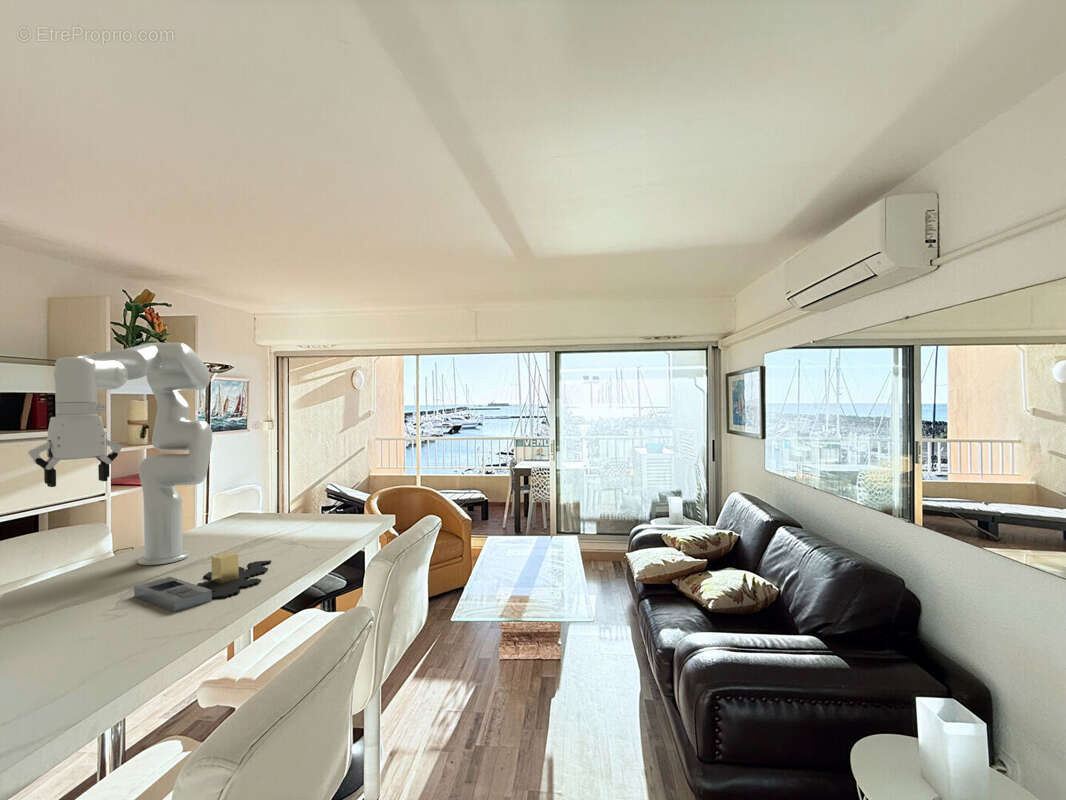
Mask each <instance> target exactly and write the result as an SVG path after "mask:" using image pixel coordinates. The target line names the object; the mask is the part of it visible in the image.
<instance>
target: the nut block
mask: <svg viewBox="0 0 1066 800" xmlns="http://www.w3.org/2000/svg"><path fill="white" fill-rule="evenodd" d="M239 567H240V565H239V554H238V553H235V552H230V551H228V552H224V553H221V554H215V555H211V572H212V581H214V582H218V583H225V582H228V581H232V580H236V579H239Z"/></svg>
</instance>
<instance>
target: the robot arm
mask: <svg viewBox="0 0 1066 800" xmlns="http://www.w3.org/2000/svg"><path fill="white" fill-rule="evenodd" d="M53 376H54V383H55V384H54V385H55V386H54V389H55V391H54V395H55V398H54V399H55V416H51V417H50V419H49V424H48V430H47V437H46V439H47V440H46V442H45V443H43V444H41V445H38V446H36V447H34V448H32V449H29V450H28V451H27V454H28V455H29V457H30V458H31V459H32V460H33V463H34V464H36V465H37V466H39V467H41V469H43V471H44V472H43V475H44V476H43V477H44V484H45V485H46V486H47V487H50V488H55V487H57V470H56V469H55V466H56V465H57V464H58V463H59V462H60V461H67V460H79V459H93V458H95V459H96V460H97V461H99V464H98V481H99V482H107V481H108V478H109V477H110V464H112V463H113V461H114V460H115V459H116V458H117V457H118V456H119V453H120V452H121V449H122V448H123V445H122V444H119V443H117V442H114V441H112V440H110V439H109V440H108V439H107V438H106V434H105V433H106V432H105V427H104V422H103V419H102V416H101V415H98V414H99V412H102V411H103V412H104V411H105V409H106V408H105V405H103V404H102V405H101V404H99V402H98V391H104V390H105V391H106V390H109V391H111V390H116V389H119V388H121V387H123V386H124V385H125V384H126V383H127V381H131V380H137V379H141V378H143V377H146V381H147V384H148V385H149V387H150V390H151V391H152V394H153V396H154V398H155V400H156V402H157V411H156V416H155V420H154V421H155V422H154V427H153V432H152V437H151V443H152V447H153V448H154V449H155V450H158V451H160V452H188V453H167V454H166V453H163V454H160V453H159V454H153V455H149V456H146V457H145V458H144V459H143V460H142V461H141V462H140V464H139V467H138V476H139V480H140V483H141V489H142V495H143V496H142V497H143V498H142V499H143V536H144V537H143V543H144V545H143V548H144V549H143V550H144V553H143V554H144V555H143V556H140V557H139V558H138V560H137V563H138V564H139V565H140V566H141V565H142V566H157V565H164V564H171V563H175V562H179V561H182V560H184V559H186V558H188V557H189V556H190V555H189V554H190V552H189V551H188V550H184V549H183V548H184V547H183V502H182V501H183V500H182V497H181V494H180V493H179V491H178V490H177V488H175V487H177V486H178V487H179V486H181V487H182V486H195V485H200V484H201V483H203V482H204V480H205V479H206V477H207V474H208V471H209V470H208V469H209V463H210V457H211V451H212V445H213V431H212V428H211V426H210V424H209V423H208V422H206V421H205V420H199V419H192V420H191V419H190V413H191V407H190V404H189V403H188V401H187V400H186V398H185V397H184V396H183V395H182V394H181V393H180V392H179V391H186V392H188V391H201V390H205V389H206V388H207V387H208V386H209V385H210V382H211V373H210V371H209V368H208V367H207V366H206V364H205V363H204V361H203V360H202V359H201V358H200V356H198V354H197V352H195V350H193V349H192V348H191V347H190V346H189V345H187V344H185V343H183V342H148V343H147V342H146V343H142V344H139V345H136V346H132V347H127V348H123V349H116V350H115V349H114V350H109V351H105V352H98V353H90V354H84V355H83V354H82V355H79V356H74V357H73V356H72V357H71V356H69V357H66V356H65V357H60V358H58V359H56V361H55V362H54V372H53ZM107 447H109V448H111V451H110V453H109V454H107V455H106V453H107ZM45 451H46V457H47V460H44V458H42V457H41V455H40V454H42V452H45Z"/></svg>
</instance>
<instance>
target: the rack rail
mask: <svg viewBox="0 0 1066 800" xmlns="http://www.w3.org/2000/svg"><path fill="white" fill-rule="evenodd" d="M133 597H135V598H138V599H139V600H143V601H145V602H148V603H151V604H153V605H155V606H158V607H161V608H163V609H165V610H168V611H169V612H173V613H176V612H180V611H184V610H186V609H189V608H193V607H196V606H199V605H203V604H206V603H209V602H212V601H213V600H212V590H210V589H207V588H204V587H201V586H198V585H197V584H193V583H191V582H188V581H185V580H181V579H178V578H176V577H172V576H168V577H165V578H161V579H156V580H152V581H148V582H145V583H140V584H138V585H137V584H136V585H134V586H133Z"/></svg>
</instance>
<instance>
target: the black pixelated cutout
mask: <svg viewBox="0 0 1066 800" xmlns="http://www.w3.org/2000/svg"><path fill="white" fill-rule="evenodd" d="M271 563H272V560H271V559H269V560H259V561H258V560H257V561H253V562H249V563H248V564H247V565H246V566H247V568H246V569H245V567H242V566H239V579H236V580H232V581H228V582H225V583H218V582H214V581H212V571H208V572H207V573H206V574H204V575H203V576H202V578H203V580H204V581H203V582H199V583H196V585H198V586H201V587H204V588H207V589H210V590H212V601H213V600H223V599H224V600H225V599H228V598H230V597H231V598H232V597H234V596H238V595H239V594H241V589H249V588H253V587H255V586H259V585H260V583H262V578H258V577H257V578H256V576H260V575H265V574H266V573H267V572H268V571H269V567H266V566H268V565H271ZM205 580H206V581H205Z"/></svg>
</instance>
